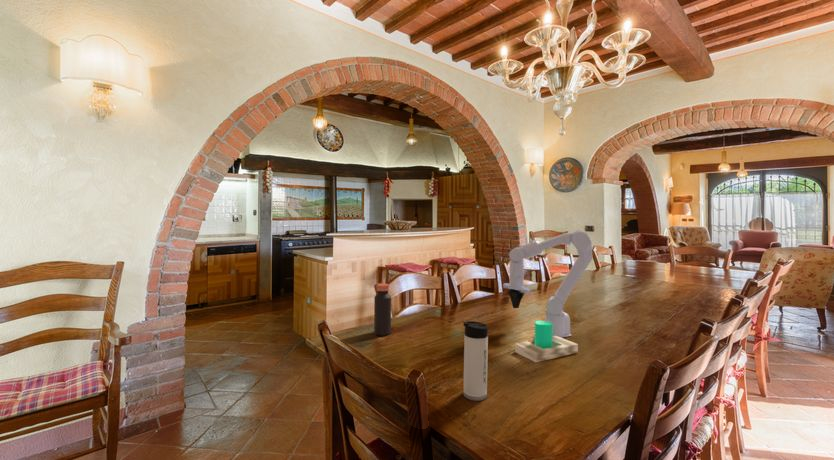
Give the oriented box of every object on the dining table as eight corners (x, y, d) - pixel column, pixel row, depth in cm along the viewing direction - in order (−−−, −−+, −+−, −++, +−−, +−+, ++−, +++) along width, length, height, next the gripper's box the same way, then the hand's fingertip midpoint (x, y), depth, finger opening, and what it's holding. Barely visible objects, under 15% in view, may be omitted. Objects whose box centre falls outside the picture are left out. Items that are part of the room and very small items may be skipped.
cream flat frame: (555, 343, 137) (555, 335, 137) (577, 352, 128) (577, 344, 128) (514, 351, 128) (515, 343, 128) (535, 362, 119) (535, 353, 119)
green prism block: (552, 355, 125) (553, 321, 124) (534, 353, 127) (535, 320, 126) (551, 349, 130) (552, 317, 130) (534, 347, 132) (535, 315, 132)
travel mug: (460, 389, 100) (461, 319, 99) (483, 389, 101) (484, 319, 100) (464, 401, 94) (466, 326, 93) (489, 400, 94) (491, 326, 93)
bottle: (386, 337, 142) (387, 287, 141) (371, 334, 144) (371, 285, 143) (393, 331, 148) (393, 283, 147) (378, 329, 150) (378, 282, 149)
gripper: (497, 273, 156) (497, 304, 157) (521, 279, 143) (520, 313, 144) (510, 272, 159) (509, 303, 160) (534, 278, 146) (533, 311, 147)
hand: (515, 307), depth 152 cm, fingers closed
